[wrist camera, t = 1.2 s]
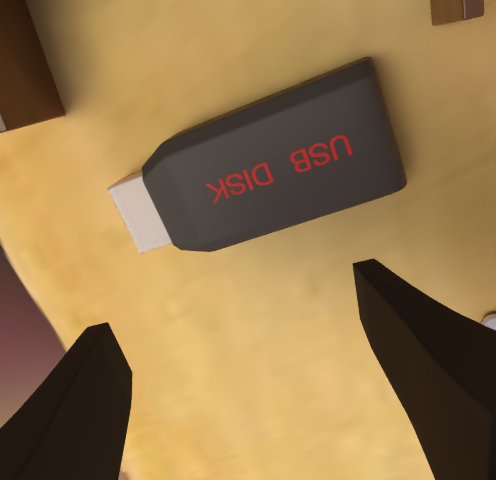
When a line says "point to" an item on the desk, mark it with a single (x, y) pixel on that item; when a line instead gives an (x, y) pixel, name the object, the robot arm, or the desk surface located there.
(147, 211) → the usb drive
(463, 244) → the desk surface
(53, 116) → the display stand
